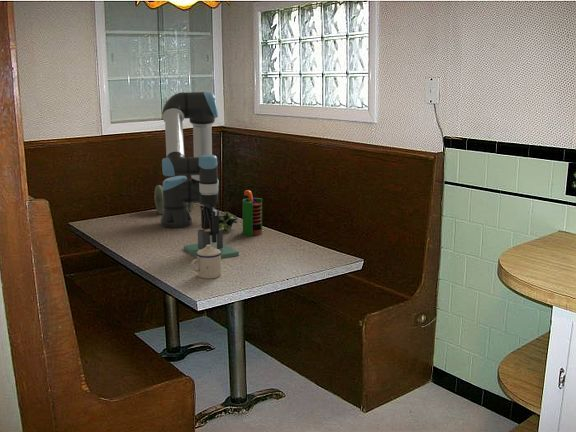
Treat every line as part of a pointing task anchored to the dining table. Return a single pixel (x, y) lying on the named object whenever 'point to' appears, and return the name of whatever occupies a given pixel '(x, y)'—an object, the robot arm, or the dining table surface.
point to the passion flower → (227, 220)
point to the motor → (252, 215)
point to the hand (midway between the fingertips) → (210, 247)
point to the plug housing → (205, 238)
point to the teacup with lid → (208, 262)
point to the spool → (159, 200)
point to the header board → (225, 251)
